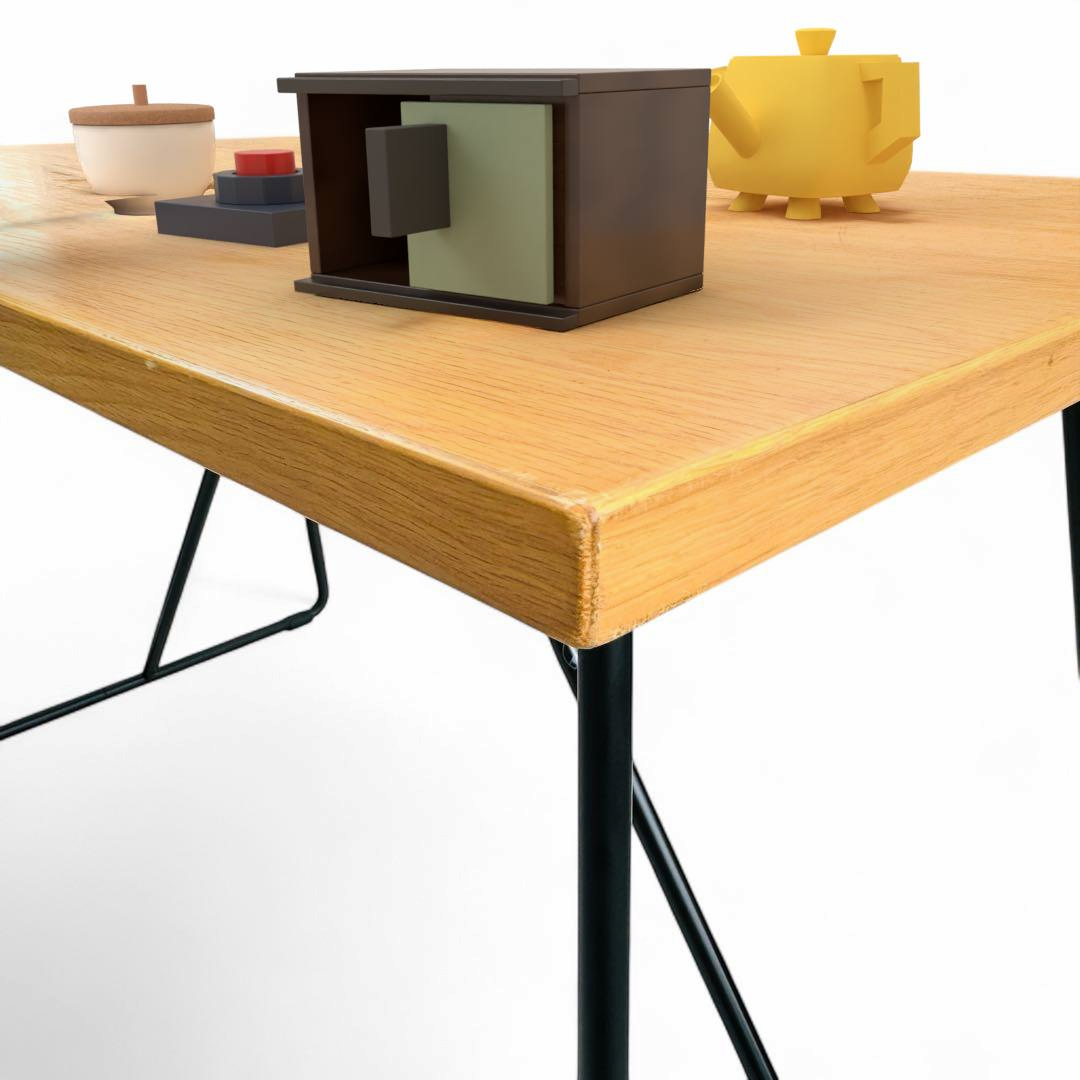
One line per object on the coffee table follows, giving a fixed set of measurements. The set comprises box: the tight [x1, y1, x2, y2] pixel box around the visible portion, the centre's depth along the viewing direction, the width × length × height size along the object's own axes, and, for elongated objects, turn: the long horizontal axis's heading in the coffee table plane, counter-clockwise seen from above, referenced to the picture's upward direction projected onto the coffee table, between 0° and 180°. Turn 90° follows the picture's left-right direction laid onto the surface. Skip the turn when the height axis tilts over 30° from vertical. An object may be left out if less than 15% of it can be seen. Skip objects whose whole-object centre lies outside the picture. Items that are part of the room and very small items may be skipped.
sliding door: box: [365, 101, 554, 305], centre depth 53 cm, size 5×8×8 cm, turn 53°
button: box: [233, 148, 297, 175], centre depth 82 cm, size 4×4×2 cm
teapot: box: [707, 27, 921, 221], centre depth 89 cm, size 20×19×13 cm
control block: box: [154, 167, 308, 249], centre depth 83 cm, size 12×10×4 cm
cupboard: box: [276, 67, 712, 332], centre depth 61 cm, size 12×17×11 cm
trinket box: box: [68, 84, 217, 217], centre depth 94 cm, size 11×11×9 cm
